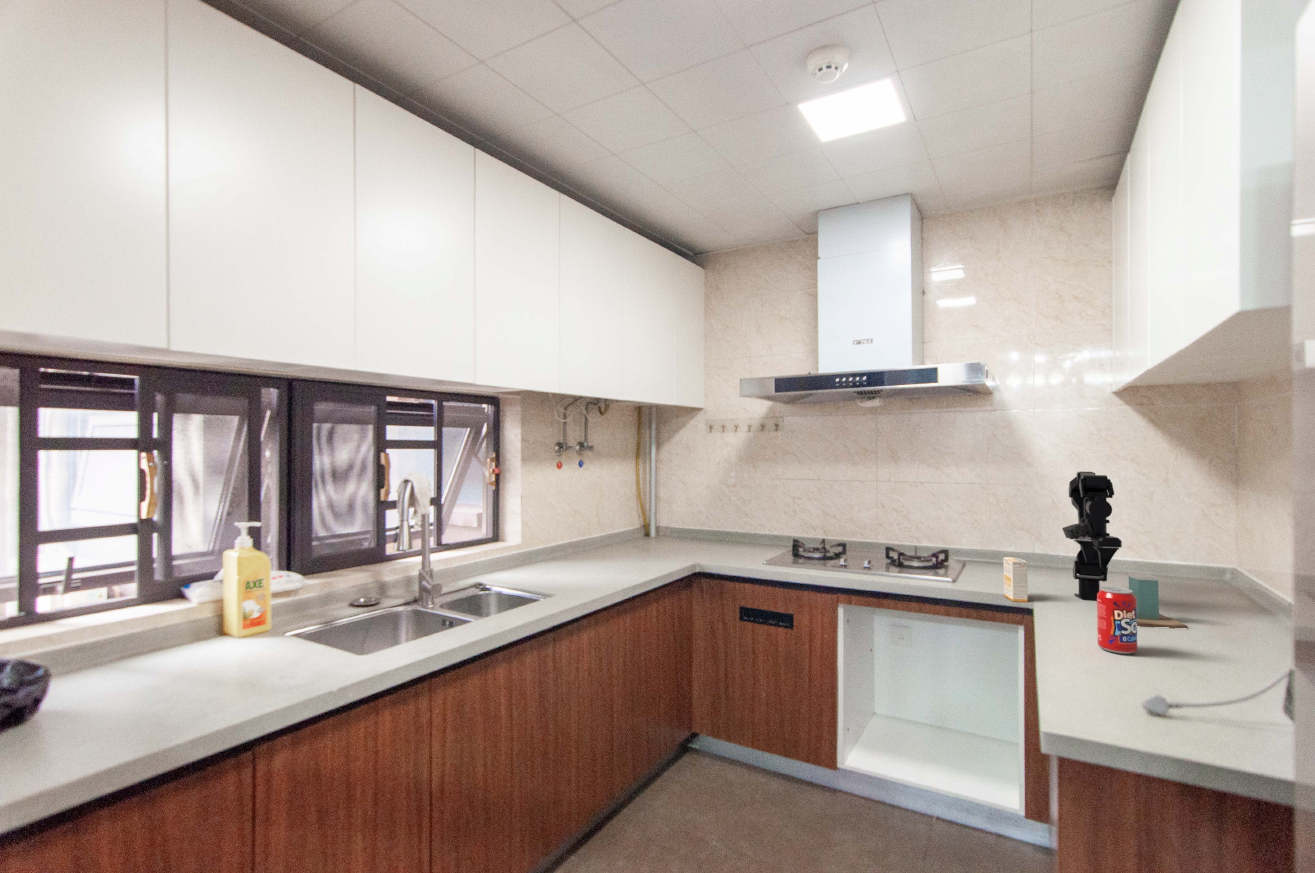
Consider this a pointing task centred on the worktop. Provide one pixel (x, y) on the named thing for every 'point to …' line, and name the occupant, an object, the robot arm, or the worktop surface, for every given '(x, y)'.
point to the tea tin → (1145, 595)
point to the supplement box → (1015, 579)
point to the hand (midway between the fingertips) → (1095, 566)
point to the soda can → (1117, 620)
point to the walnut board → (1161, 622)
